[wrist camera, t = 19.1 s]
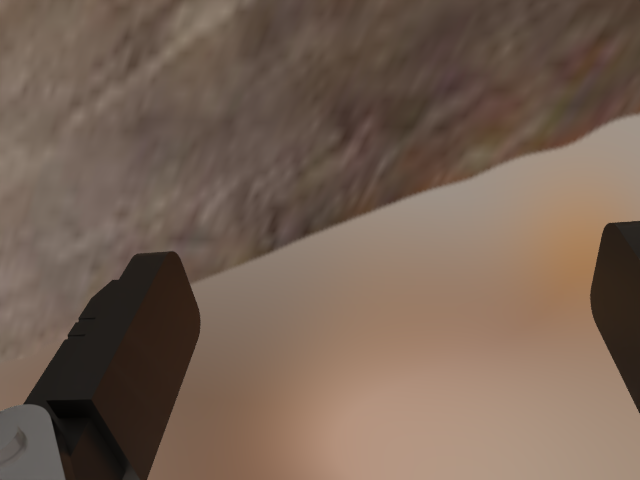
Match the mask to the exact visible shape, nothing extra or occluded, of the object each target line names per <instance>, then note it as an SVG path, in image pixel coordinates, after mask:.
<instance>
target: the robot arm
mask: <svg viewBox="0 0 640 480" xmlns="http://www.w3.org/2000/svg"><path fill="white" fill-rule="evenodd" d="M590 297H591V298H590V300H591V309H592V314H593V318H594V320H595V323H596V325H597V327H598V329H599V331H600V333H601V335H602V337H603V340H604V341H605V344H606V346H607V348H608V350H609V352H610V354H611V356H612V358H613V360H614V362H615V364H616V366H617V368H618V370H619V372H620V374H621V376H622V378H623V380H624V382H625V384H626V387H627V389H628V391H629V393H630V395H631V397H632V399H633V401H634V403H635V405H636V407H637V409H638V411H639V413H640V221H632V222H618V223H609V224H607V225H606V226H605V228H604V230H603V233H602V237H601V243H600V247H599V252H598V257H597V262H596V267H595V271H594V276H593V281H592V286H591V294H590ZM78 319H79V322H76V323H75V325H74V326H73V328H72V329H71V331H70V332H69V334H68V339H67V340H64V342H63V343H62V345H61V346H60V348H59V350H58V351H57V353H56V354H55V356H54V357H53V359H52V360H51V362H50V363H49V365H48V367H47V368H46V370H45V371H44V373H43V374H42V376H41V377H40V379H39V381H38V382H37V384H36V385H35V387H34V388H33V390H32V391H31V393H30V394H29V396H28V398H27V399H26V401H25V402H24V404H23V405H18V406H14V407H10V408H8V409H5V410H3V411H0V480H147V478H148V475H149V472H150V470H151V467H152V464H153V461H154V459H155V455H156V453H157V450H158V447H159V445H160V442H161V439H162V437H163V434H164V431H165V428H166V425H167V423H168V420H169V417H170V414H171V412H172V409H173V406H174V404H175V401H176V398H177V396H178V392H179V390H180V387H181V385H182V382H183V379H184V376H185V374H186V371H187V368H188V365H189V363H190V360H191V357H192V354H193V352H194V349H195V346H196V343H197V341H198V337H199V333H200V313H199V308H198V306H197V302H196V300H195V297H194V294H193V292H192V289H191V286H190V283H189V281H188V278H187V275H186V273H185V270H184V267H183V264H182V262H181V259H180V257H179V256H178V254H177V253H176V252H173V251H170V252H156V253H141V254H136V255H134V256H133V258H132V259H131V261H130V262H129V264H128V266H127V267H126V269H125V270H124V272H123V274H122V275H121V277H120V279H119V280H112V281H111V282H110V283H109V284H107V285H106V286H105V287H104V288H103V289H102V290H100V291H99V292H98V293H97V294H96V295H95V296H93V297H92V298H91V300H90V301H89V303H88V304H87V306H86V307H85V309H84V311H83V312H82V314H81V315H80V317H79V318H78Z"/></svg>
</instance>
